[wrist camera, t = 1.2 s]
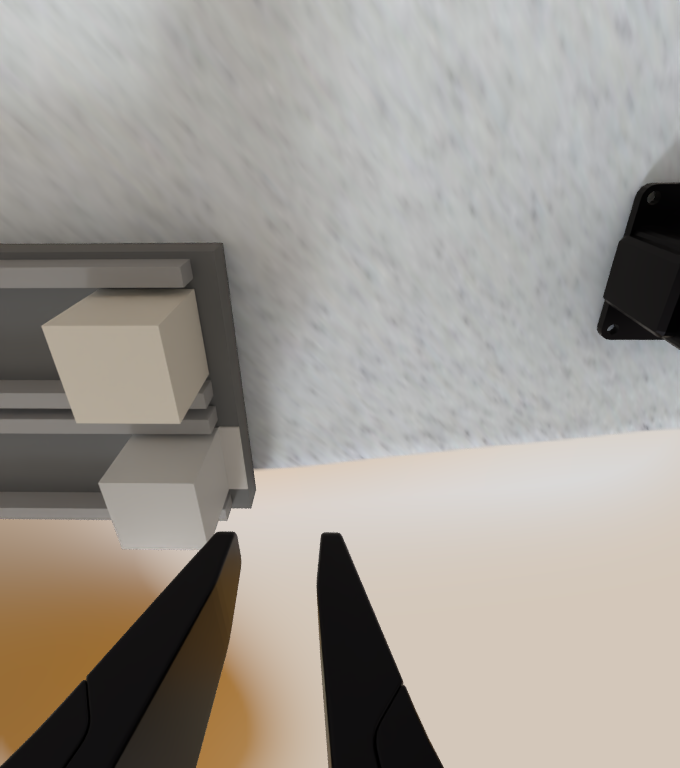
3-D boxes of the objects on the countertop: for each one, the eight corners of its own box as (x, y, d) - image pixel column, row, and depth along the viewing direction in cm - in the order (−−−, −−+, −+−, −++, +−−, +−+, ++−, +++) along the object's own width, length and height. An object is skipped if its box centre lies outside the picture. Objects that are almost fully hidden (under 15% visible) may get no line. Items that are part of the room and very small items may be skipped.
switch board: (222, 242, 19) (204, 258, 17) (255, 489, 26) (246, 525, 24) (-143, 244, 20) (-210, 260, 17) (-15, 487, 26) (-50, 522, 24)
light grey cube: (218, 427, 22) (193, 483, 19) (229, 489, 24) (208, 550, 21) (137, 427, 22) (98, 482, 19) (155, 488, 24) (122, 549, 21)
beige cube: (194, 288, 19) (158, 325, 15) (208, 373, 21) (180, 423, 17) (98, 289, 19) (41, 325, 15) (122, 373, 21) (76, 423, 17)
